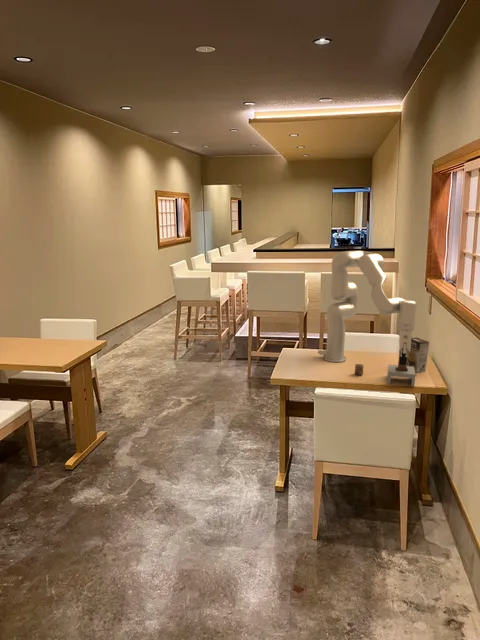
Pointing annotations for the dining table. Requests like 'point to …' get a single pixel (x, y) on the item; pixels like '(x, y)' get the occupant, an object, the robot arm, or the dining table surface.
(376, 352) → the dining table surface
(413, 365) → the coffee box
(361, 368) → the short pin
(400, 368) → the long pin
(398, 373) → the bridge
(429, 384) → the dining table surface
